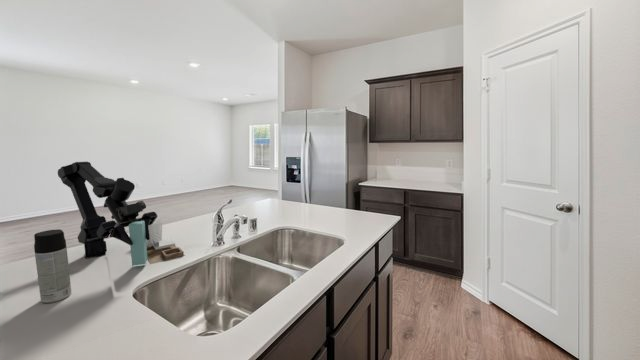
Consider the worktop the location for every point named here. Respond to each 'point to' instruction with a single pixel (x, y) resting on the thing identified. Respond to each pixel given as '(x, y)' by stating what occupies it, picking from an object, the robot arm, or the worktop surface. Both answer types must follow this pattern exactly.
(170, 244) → the lid
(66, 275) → the spray can
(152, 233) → the white cup
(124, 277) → the worktop surface
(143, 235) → the block
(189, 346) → the worktop surface
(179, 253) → the board
